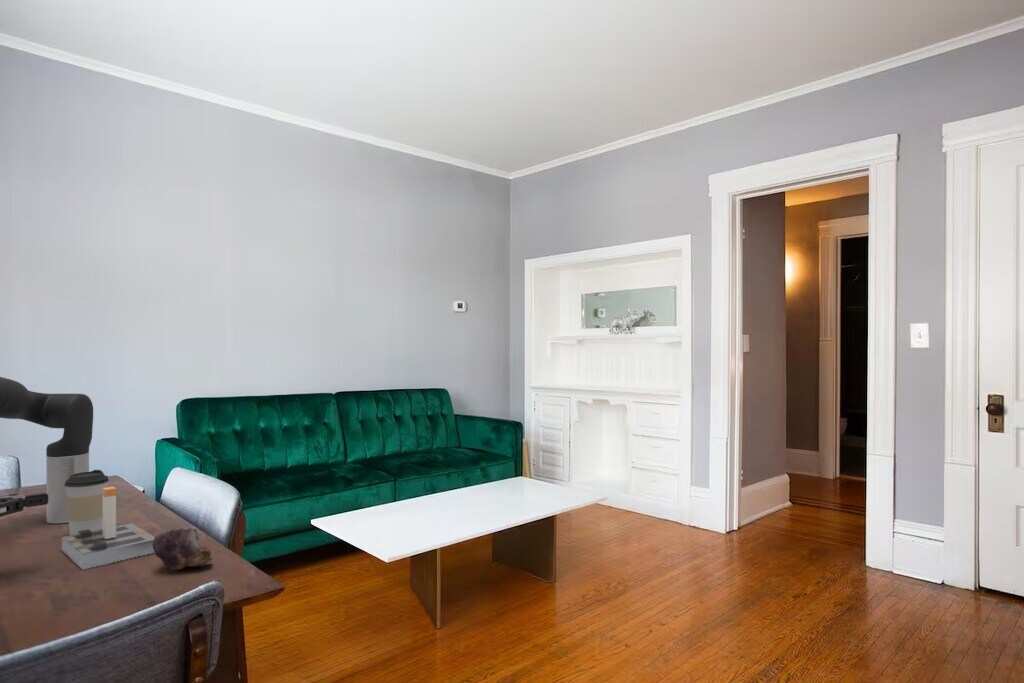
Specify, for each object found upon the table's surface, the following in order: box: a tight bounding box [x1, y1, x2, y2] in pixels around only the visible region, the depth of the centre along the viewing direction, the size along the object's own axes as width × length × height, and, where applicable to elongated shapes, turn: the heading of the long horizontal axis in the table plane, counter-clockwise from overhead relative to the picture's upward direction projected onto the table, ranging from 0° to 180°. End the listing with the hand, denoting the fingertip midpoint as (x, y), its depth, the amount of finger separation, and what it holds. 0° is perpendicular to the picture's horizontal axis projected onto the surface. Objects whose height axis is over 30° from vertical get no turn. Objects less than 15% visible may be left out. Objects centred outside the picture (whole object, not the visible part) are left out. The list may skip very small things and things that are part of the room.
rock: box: [152, 526, 213, 571], centre depth 128 cm, size 12×9×10 cm
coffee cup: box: [64, 469, 110, 535], centre depth 151 cm, size 9×9×15 cm
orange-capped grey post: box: [102, 486, 117, 539], centre depth 138 cm, size 2×2×11 cm
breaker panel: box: [61, 522, 156, 571], centre depth 138 cm, size 18×14×4 cm
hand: (47, 498), depth 129 cm, fingers closed
